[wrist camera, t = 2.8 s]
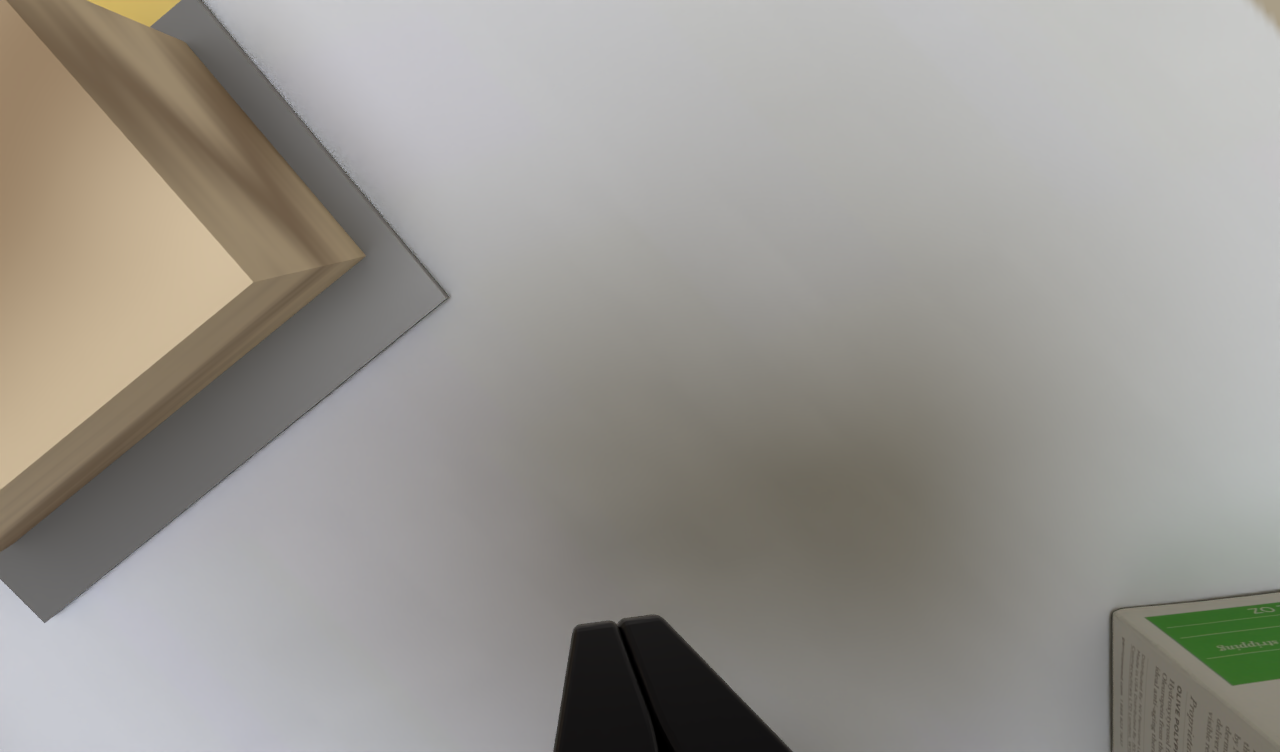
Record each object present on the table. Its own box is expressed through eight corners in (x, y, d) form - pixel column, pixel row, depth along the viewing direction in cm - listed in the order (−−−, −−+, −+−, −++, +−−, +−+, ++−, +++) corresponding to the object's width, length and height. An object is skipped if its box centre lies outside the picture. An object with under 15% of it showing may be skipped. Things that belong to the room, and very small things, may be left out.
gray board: (449, 296, 23) (446, 298, 23) (53, 616, 24) (44, 623, 23) (101, -119, 21) (92, -126, 21) (-320, 243, 22) (-336, 244, 21)
